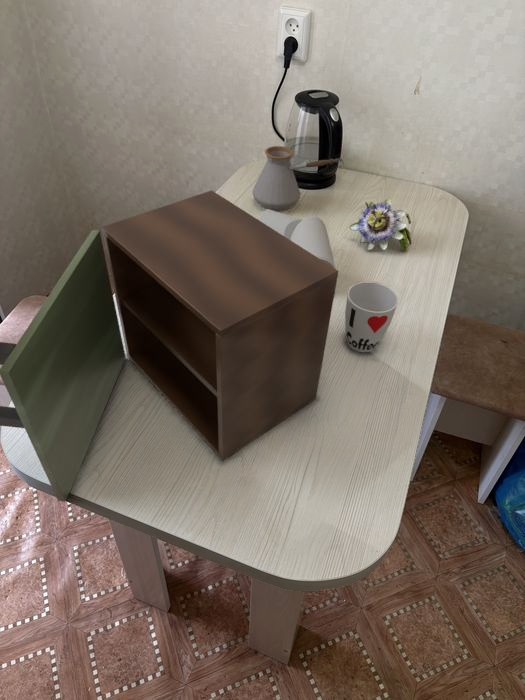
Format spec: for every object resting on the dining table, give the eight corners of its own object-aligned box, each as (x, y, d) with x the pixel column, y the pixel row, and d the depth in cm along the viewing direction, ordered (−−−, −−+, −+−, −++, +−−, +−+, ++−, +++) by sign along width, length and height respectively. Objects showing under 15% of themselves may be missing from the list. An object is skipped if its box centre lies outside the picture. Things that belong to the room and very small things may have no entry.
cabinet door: (5, 495, 64) (-73, 363, 48) (79, 353, 83) (41, 224, 66) (65, 502, 64) (8, 371, 47) (125, 358, 82) (99, 229, 66)
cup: (332, 350, 86) (341, 304, 79) (345, 322, 92) (354, 276, 85) (379, 364, 84) (392, 318, 77) (389, 334, 90) (402, 289, 83)
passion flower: (366, 270, 113) (341, 228, 107) (379, 239, 119) (355, 198, 113) (413, 259, 106) (389, 214, 100) (424, 227, 112) (402, 182, 106)
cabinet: (223, 461, 69) (220, 330, 53) (127, 356, 83) (101, 227, 66) (316, 399, 78) (338, 270, 61) (215, 314, 92) (211, 190, 75)
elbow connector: (360, 254, 106) (275, 228, 112) (365, 214, 97) (273, 188, 103) (325, 314, 97) (236, 281, 103) (328, 276, 89) (230, 243, 95)
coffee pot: (243, 206, 121) (244, 144, 111) (267, 188, 128) (270, 128, 118) (323, 233, 114) (332, 169, 103) (343, 212, 121) (354, 150, 111)
